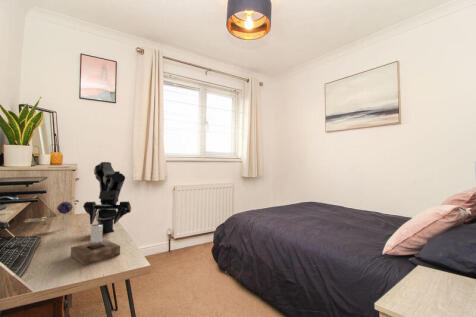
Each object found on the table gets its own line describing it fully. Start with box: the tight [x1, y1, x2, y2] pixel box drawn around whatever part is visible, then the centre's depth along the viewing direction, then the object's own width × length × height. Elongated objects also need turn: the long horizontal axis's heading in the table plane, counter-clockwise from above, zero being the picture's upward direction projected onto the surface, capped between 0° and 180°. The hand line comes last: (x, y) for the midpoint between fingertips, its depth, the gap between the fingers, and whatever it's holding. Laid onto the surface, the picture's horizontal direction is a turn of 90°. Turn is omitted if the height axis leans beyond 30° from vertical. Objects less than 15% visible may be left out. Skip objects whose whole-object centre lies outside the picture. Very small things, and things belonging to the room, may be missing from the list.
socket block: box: [70, 239, 121, 266], centre depth 92 cm, size 13×13×4 cm
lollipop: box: [57, 201, 74, 230], centre depth 127 cm, size 7×7×15 cm
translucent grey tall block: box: [90, 223, 104, 250], centre depth 93 cm, size 4×4×12 cm
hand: (102, 223), depth 99 cm, fingers open, 9 cm apart
